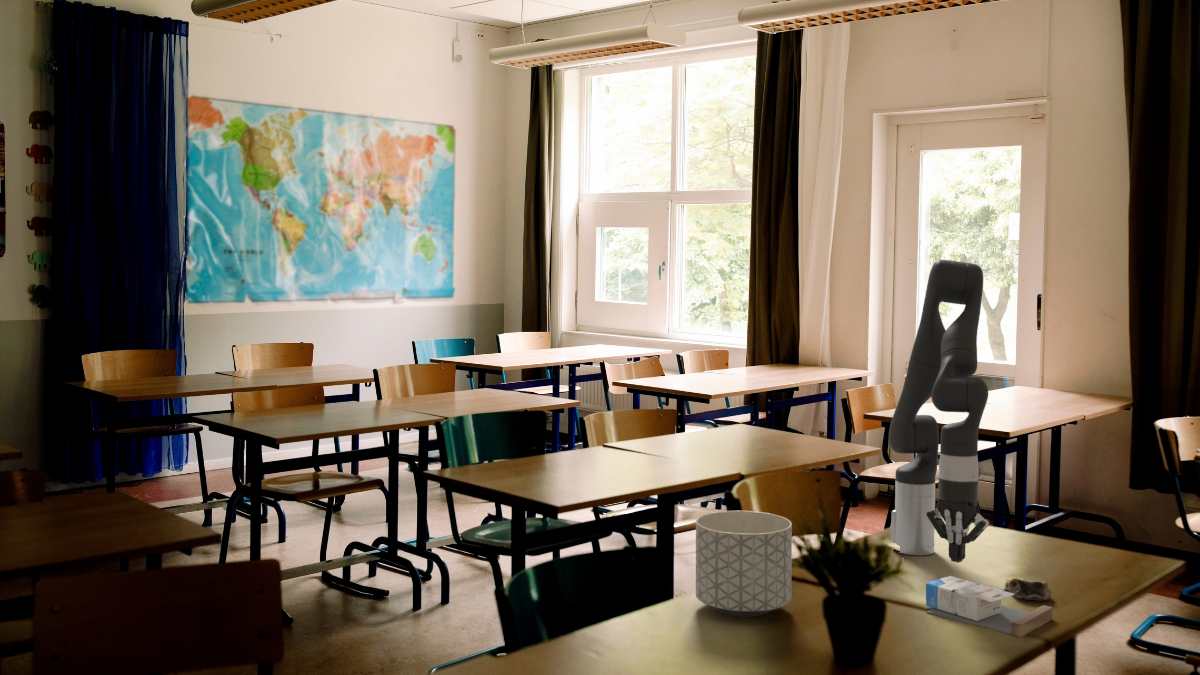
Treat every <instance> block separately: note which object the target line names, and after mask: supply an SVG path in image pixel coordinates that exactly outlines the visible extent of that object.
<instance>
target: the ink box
mask: <svg viewBox="0 0 1200 675" xmlns="http://www.w3.org/2000/svg"><path fill="white" fill-rule="evenodd" d="M1012 596H1015V595H1014V594H1013V593H1011V592H1006V591H1004V590H1001V588H1000V589H999V588H995V587H993V586H988V585H985V584H981V583H977V582H973V581H970V580H966V579H964V578H963V579H962V578H959V577H956V576H953V575H948V576H945V577H942V578H938V579H935V580H931V581H928V582H926V583H925V606H927V607H929V608H931V609H933V608H935V609H939V610H942V611H945V612H949V613H952V614H955V615H959V616H962V617H965V618H968V619H971V620H975V621H979V620H982V619H985V618H988V617H990V616H993V615H996V614H999V613H1001V606H1002V600H1003V599H1007V598H1009V597H1012Z"/></svg>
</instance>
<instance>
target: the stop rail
mask: <svg viewBox="0 0 1200 675" xmlns="http://www.w3.org/2000/svg"><path fill="white" fill-rule="evenodd" d="M1053 610H1054V609H1053V607H1052V606H1048V605H1044V604H1043V605H1041V606H1039V607H1037V608H1036V609H1034V610H1032V611H1029V612H1030V613H1028V614H1026V615H1024V616H1022V617H1021V618H1019V619H1017V620H1015V621H1013V622H1012V634H1011V635H1010V636H1014V637H1017V638H1022V637H1025V636H1026V635H1028V634H1029V633H1031V632H1033V631H1035V630H1037V629H1039V628H1040V627H1042V626H1044V625H1045V624H1047V623H1048V622H1050V621H1052V620H1053Z"/></svg>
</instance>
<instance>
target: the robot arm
mask: <svg viewBox="0 0 1200 675" xmlns="http://www.w3.org/2000/svg"><path fill="white" fill-rule="evenodd" d="M926 284H927V285H926V288H925V289H926V290H925V296H924V302H923V306H922V312H921V317H920V320H919V325H918V328H917V332H916V336H915V339H914V343H913V347H912V350H911V353H910V357H909V361H908V366H907V370H906V375H905V380H904V383H903V386H902V389H901V393H900V397H899V398H898V399H899V400H898V402H897V405H896V408H895V410H894V413H893V415H892V419H891V421H890V425H889V430H888V442H889V446H890V448H891V450H892V451H893V452H895V453H897V454H916V456H915V457H914V458H913V459H912V460H911V461H909V462H907V463H906V464H903V465H900V466H898V467H897V468H896V469H895V482H894V483H895V488H894V489H895V490H894V492H895V493H894V495H895V497H894V498H895V499H894V506H895V507H894V509H893V510H892V511H891V521H890V524H891V525H890V526H891V527H890V528H891V529H890V535H891V537H890V543H891V542H893V543H896V544H897V545H899V546H900V552H899V554H900V553H901V554H903V555H910V556H929V555H933V554H934V553H935V531H936V533H937V534H938V535H939V538H940V539H944V540H946V541H947V543H948V557H949V559H950V561H951V562H953V563H957V564H958V563H961V562H962V561H963V560H965V558H966V544H969V543H973V542H975V541H976V540H977V539H978V538H979V537H980V535H981V534H982V533H983V532H984V531H985V530H986V529H987V528H988V527H989V526H990V525H991V521H990V520H989V519H988V518H984V517H983V516H982V514H980V508H979V506H978V502H979V477H980V473H979V472H980V471H979V470H980V469H979V459H978V447H979V446H978V444H979V442H978V441H979V430H980V425H981V420H982V416H983V414H984V411H985V408H986V405H987V402H988V399H989V388H988V385H987V383H986V381H984V379H982V378H980V377H975V376H974V377H973V375H975V373H976V372H977V369H978V344H977V343H978V342H977V340H978V339H977V338H978V331H979V330H978V329H979V328H978V327H979V323H980V315H981V308H982V300H983V291H984V290H983V289H984V272H983V269H982V267H981V266H980V265H979V264H977V263H976V264H975V263H971V262H964V261H956V260H950V259H948V260H947V259H937V260H935V261H934V263H933V264H932V266H931V269H930V272H929V276H928V281H927V283H926ZM940 303H948V304H956V305H965V306H964V309H963V311H962V312H961V313H960V314H959V316H958V317H957V318H955V320H954V321H953V322H952V323H951V324H950V325H949V326H948V327H947V329H946V327H945V326H944V323H943V321H942V320H943V319H942V318H941V313H940ZM930 399H931V401H932V404H933V405H934V407H935V408H936V410H938V411H941V412H945V413H967V414H968V415H967V416H966V418H965V419H964V420H962V421H957V422H953V423H952V422H951V423H947V424H945V425H943V426H942V427H941V428H940V429H939V425H938V422H937V420H936V418H935V417H934V416H932V415H930V414H918V412H919V411H920V409H921V408H922V406H923V405H924V404H925V403H926V402H927V401H929V400H930ZM939 443H940V444H939ZM939 445H940V446H939ZM939 448H940V453H939ZM938 457H939V461H938ZM937 470H938V493H937V495H938V502H937V503H936V477H937V476H936V475H937ZM935 507H936V508H935ZM973 522H974V523H973ZM972 523H973V525H974V527H973V528H972V529H971V530H970V526H971V525H972ZM969 530H970V532H969ZM968 532H969V533H968Z"/></svg>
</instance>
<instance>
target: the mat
mask: <svg viewBox="0 0 1200 675" xmlns="http://www.w3.org/2000/svg"><path fill="white" fill-rule="evenodd" d="M1030 612H1031V611H1026V610H1021V609H1019V608H1018V609H1017V608H1013V607H1008V606H1004V605H1001V613H999V614H996V615H993V616H990V617H988V618H985V619H982V620H979V621H975V620H971V619H968V618H965V617H962V616H959V615H955V614H952V613H949V612H945V611H942V610H939V609H935V608H931V609H929V610H927V611H926V614H930V615H934V616H937V617H941V618H946V619H949V620H951V621H952V620H953V621H957V622H960V623H965V624H967V625H972V626H975V627H980V628H983V629H988V630H990V631H991V630H992V631H994V632H999V633H1002V634H1006V635H1010V636H1012V635H1011V634H1012V622H1013V621H1015V620H1017V619H1019V618H1021V617H1022V616H1024V615H1026V614H1028V613H1030Z"/></svg>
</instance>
